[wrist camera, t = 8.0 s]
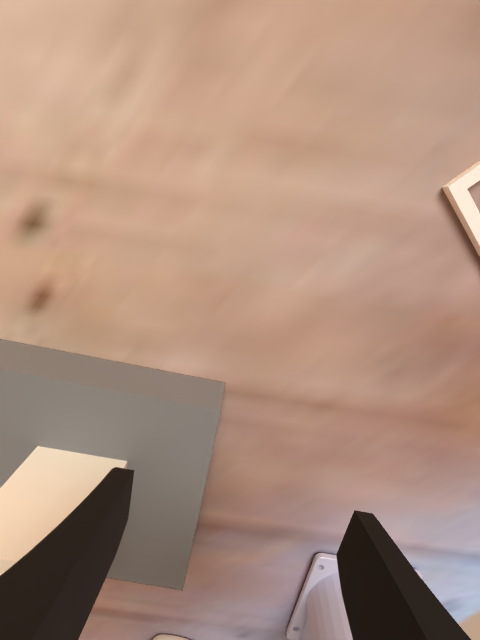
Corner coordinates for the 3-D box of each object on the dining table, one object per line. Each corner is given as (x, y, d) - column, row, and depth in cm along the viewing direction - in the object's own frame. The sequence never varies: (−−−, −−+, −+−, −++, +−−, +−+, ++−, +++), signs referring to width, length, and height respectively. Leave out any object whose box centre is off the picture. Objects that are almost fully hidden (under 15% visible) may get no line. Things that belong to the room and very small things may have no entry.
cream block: (121, 526, 20) (71, 650, 15) (38, 513, 20) (-44, 632, 15) (127, 461, 19) (74, 570, 13) (37, 446, 19) (-55, 550, 13)
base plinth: (190, 546, 25) (182, 590, 22) (0, 513, 24) (-33, 554, 22) (225, 382, 20) (220, 411, 18) (-7, 337, 20) (-50, 359, 17)
